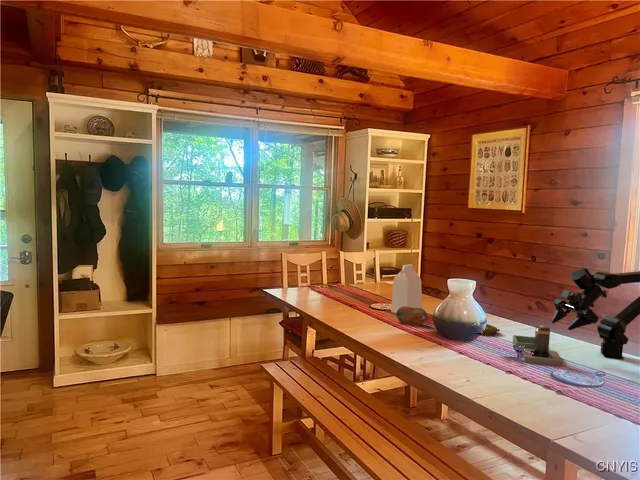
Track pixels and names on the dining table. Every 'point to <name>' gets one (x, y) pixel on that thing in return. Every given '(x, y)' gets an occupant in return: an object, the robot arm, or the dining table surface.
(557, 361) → the tester cradle
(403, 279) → the milk
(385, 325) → the dining table surface
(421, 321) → the tin
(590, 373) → the dining table surface
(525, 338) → the cup
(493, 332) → the decorative rock
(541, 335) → the battery cell
